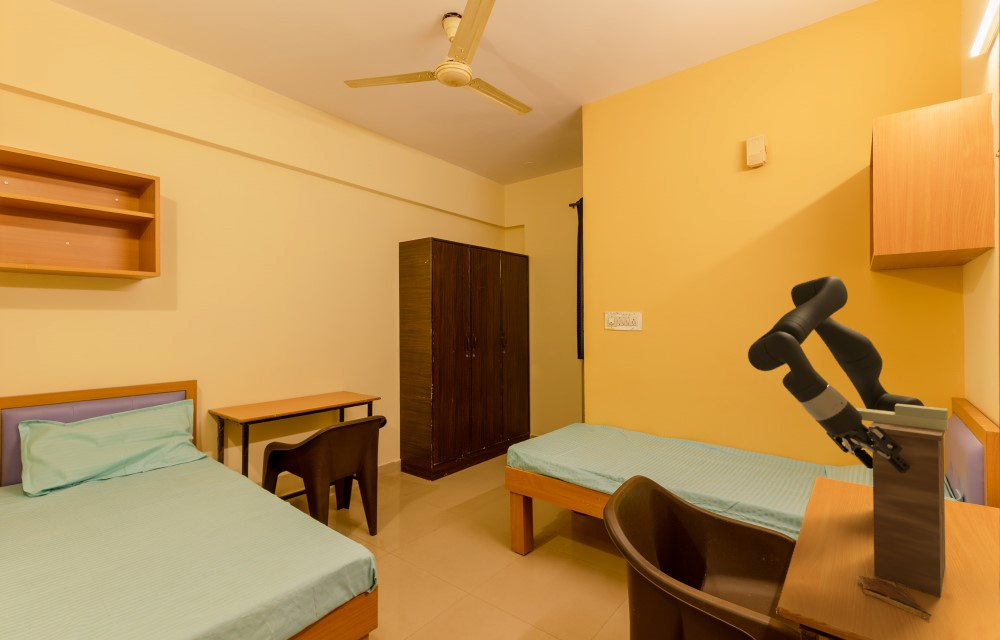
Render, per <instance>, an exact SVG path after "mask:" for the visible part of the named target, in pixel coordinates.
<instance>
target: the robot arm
mask: <svg viewBox="0 0 1000 640" xmlns="http://www.w3.org/2000/svg"><path fill="white" fill-rule="evenodd" d="M848 293H849V292H848V290H847V287H846V285H845V283H844V282H843V280H841V279H840V278H839V277H837V276H832V275H829V276H828V275H827V276H823V277H819V278H815V279H811V280H808V281H805V282H802V283H798V284H796V285H794V286H793V287H792V289H791V292H790V297H791V300H792V303H793V305H794V307H795V308H793V309H791V310H789V311H788V312H786V313H785V314H784V315H783V316H781V317H780V319H779V320H778V321H777V322H776V323H774V325H773V327H772V328H771V329H770V330H769V331H767V332H766V333H764V334H763V335H762V336H760V337H759V338H758V339H756V341H754V342H753V343H752V344H751V345H750V347H749V348H748V350H747V358H748V361H749V363H750V364H751V366H752V367H753V368H754V369H756V370H758V371H760V372H761V371H762V372H770V371H773V370H776V369H777V368H779V367H782V366H784V365H787V366H788V368H789V370H790V371H788V372H787V373H786V374H785V375H784V377H783V378H782V385H783V386H784V388H785V389H786V390H787V391H788V392H789V393H790V394H791V395H792V396H793V397H794V398H795V399H796V400H797V401H798V402H799V403H800V404H801V406H802V407H803V409H804V410H805V411H806V412H807V413H808V414H809V415H810V416H811V417H812V418H813V419H814V420H815V421H816V422H817V423H818V424H819V425H820V426H821V427H822V428H823V430H825V432H826V435H827V436H828V437H829V438H830V440H832V441H833V442H834V444H836V446H837V447H838V448H840V450H841V451H842V452H843V453H845V454H847V453H849V454H850V455H852V456H854V457H856V458H857V459H858V460H859V461H860V462H861V463H862V464H863V466H864V467H865V468H866V469H871V470H873V456H872V455H870V454H869V453H868V451H869V452H871V454H873V453H878V454H880V455H881V456H883V457H885V458H886V459H887V460H888V461H889V462H890V463H891V464H892V465H893V466H894V467H895V468H896V469H897V470H898V471H899V472H900V473H905V472H906V471H907V470H908V469H909V468H910V466H909V464H908V463H907V462H906V461H905V460H904V459H903V458H902V457H901V456H899V454H898V453H899V452H900V451H901V450H902V447H901V446H899V445H898V444H897V443H896V442H895V441H894V440H893V439H892V438H891V437H890V436H889V435H888V434H887V433H885V432H884V431H883V430H882V429H881V428H880V427H878V426H875V427H874V428H873V429H869V427H867V426H866V425H865V424H863V420H862V415H861V413H860V412H859V411H858V410H857V409H856V408H857V407H855V406H854V405H853V404H851V402H850V401H848V399H847V398H845V397H844V395H843V394H841V392H839V391H838V390H837V388H835V387H834V386H832V385H831V384H830V383H828V382H827V380H825V379H824V377H823V376H821V374H819V372H818V371H817V370H816V369H815V368H814V366H813V365H812V363H811V362H810V360H809V359H808V357H807V356H806V354H805V352H804V350H803V348H802V346H801V345H803V343H805V341H806V339H807V338H808V337H809V336H810V334H811V333H812V332H813V331H815V333H817V335H818V336H819V338H820V339H821V340H822V341H823V343H824V345H826V347H827V348H828V350H829V352H830V353H831V355H832V356H833V358H834V360H835V361H836V363H837V364H838V365H839V367H840V368H841V369H842V371H843V372H844V373H845V375H846V376H847V377H848V379H849V381H850V382H851V384H852V385H853V387H854V388H855V390H856V391H857V393H858V396H860V398H861V401H862V403H863V405H864V407H865V409H872V410H881V411H890V412H895V405H896V404H906V405H916V406H925V405H924V403H923V402H922V401H921V400H920V399H918V398H916V397H911V396H905V395H898V394H891V393H889V392H887V390H886V389H885V388H884V387H883V386H882V384H881V382H880V376H881V374H882V369H883V358H882V356H881V354H880V352H879V351H878V350H877V348H876V347H875V345H874V344H873V342H872V341H871V340H870V338H868V337H867V336H866V335H864V334H863V333H861V332H859V331H857V330H855V329H852V328H851V327H849V326H846V325H844V324H842V323H840V322H838V321H837V320H835V319H834V318H832V317H831V316H833V314H835V313H836V312H838V311H839V310H842V308H844V307H845V305H846V304H847V302H848V298H849V297H848V296H849V295H848ZM843 443H844V444H843ZM874 443H876V445H875V446H872V445H873V444H874ZM889 443H890V444H891V445H892V446H893V447H892V446H891V445H889ZM880 448H882V449H883V450H884V451H885V452H884V451H882V450H880ZM865 449H866V450H867V451H866V450H865Z"/></svg>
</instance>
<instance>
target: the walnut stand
mask: <svg viewBox="0 0 1000 640" xmlns="http://www.w3.org/2000/svg"><path fill="white" fill-rule="evenodd" d="M875 426H878V427H880V428H881V429H882V430H883V431H884V432H885V433H887V434H888V435H889V436H890V437H891V438H892V439H893V440H894V441H895V442H896V443H897V444H898V445H899V446H901V447H902V450H901V451H900V452H899V453H898V454H899V456H901V457H902V458H903V459H904V460H905V461H906V462H907V463H908V464H909V466H910V468H909V469H908V470H907V471H906V472H905V473H900V472H899V471H898V470H897V469H896V468H895V467H894V466H893V465H892V464H891V463H890V462H889V461H888V460H887V459H886V458H885V457H883V456H881V455H880V454H878V453H872V458H873V468H872V498H873V499H872V500H873V502H872V503H873V505H872V507H873V510H872V511H873V559H874V560H873V562H874V564H873V568H874V570H873V571H874V573H873V575H874V577H875V578H879V579H884V580H887V581H890V582H893V583H896V584H897V585H901V586H905V587H908V588H911V589H914V590H917V591H919V592H923V593H926V594H930V595H932V596H935V597H939V598H941V596H942V589H943V585H944V577H945V571H946V519H945V517H946V515H945V514H946V511H945V509H946V508H945V506H946V505H945V504H946V503H945V460H944V459H945V457H944V456H945V455H944V454H945V453H944V452H945V449H944V446H945V445H944V441H945V440H944V437H945V436H944V435H945V432H946V430H938V429H930V428H922V427H914V426H906V425H898V424H890V423H882V422H874V421H872V423H871V424H869V426H868V428H869V429H873V428H874V427H875ZM875 445H876V443H874V444H873V445H872V446H875ZM889 445H891V444H890V443H889ZM891 446H892V445H891ZM892 447H893V446H892ZM880 450H882V451H884V450H883V449H882V448H880ZM884 452H885V451H884Z"/></svg>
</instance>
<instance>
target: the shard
mask: <svg viewBox="0 0 1000 640" xmlns="http://www.w3.org/2000/svg"><path fill="white" fill-rule="evenodd" d="M857 580H858V581H860V583H861V584H862V586H863V588H862V593H863V594H865V595H868V596H871V597H873V598H876V599H880V601H884V602H885V603H888V604H890V605H892V606H894V607H897V608H899V609H900V610H901V609H902V610H904V611H906V612H908V613H910V614H912V615H915V616H918V615H919V616H918V617H921V616H922V617H921V618H923V617H925V618H924V619H927V618H928V619H927V620H930V618H931V617H932V614H931V613H930V612H928V610H926V609H925V608H924V607H922V606H921V605H920V604H919V603H918V602H917V601H916V600H915V598H914V597H912V596H911V595H910V594H909V593H908V592H907V591H906V590H905V589H904V588H903V587H901V586H899V584H898V583H895V582H892V581H889V580H886V579H883V578H880V577H869V576H863V575H862V576H861V575H859V576H857Z"/></svg>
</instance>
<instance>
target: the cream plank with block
mask: <svg viewBox="0 0 1000 640" xmlns="http://www.w3.org/2000/svg"><path fill="white" fill-rule="evenodd" d="M855 408H856V409H857V410H858V411H859V412H860V413H861V415H862V421H866V422H867V421H868V422H882V423H890V424H898V425H906V426H914V427H922V428H930V429H938V430H945V432H946V431H948V429H949V411H948V408H945V407H936V406H925V405H924V406H916V405H906V404H896V405H895V412H890V411H881V410H872V409H866V408H861V407H855Z"/></svg>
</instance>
